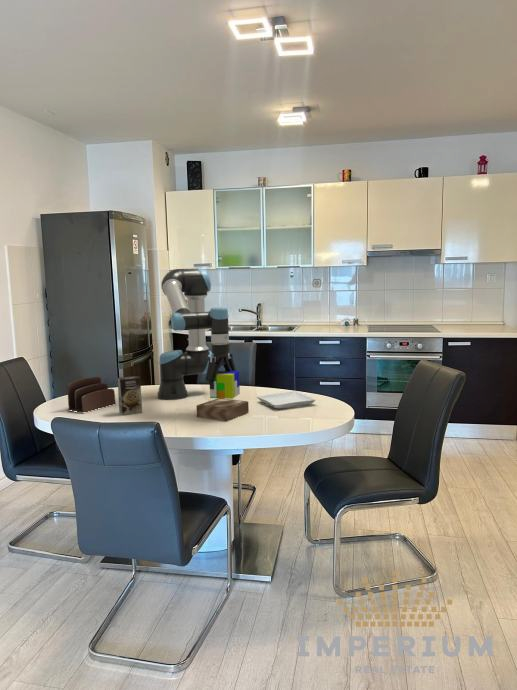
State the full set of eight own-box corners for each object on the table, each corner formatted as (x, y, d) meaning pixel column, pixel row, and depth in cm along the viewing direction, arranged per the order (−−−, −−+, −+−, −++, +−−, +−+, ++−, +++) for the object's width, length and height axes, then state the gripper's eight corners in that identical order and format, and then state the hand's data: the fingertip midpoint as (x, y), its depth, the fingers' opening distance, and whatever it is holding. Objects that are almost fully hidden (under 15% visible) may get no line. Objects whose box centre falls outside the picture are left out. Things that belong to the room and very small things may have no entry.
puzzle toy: (239, 393, 223) (238, 371, 222) (232, 398, 213) (231, 375, 212) (218, 393, 226) (217, 370, 224) (210, 398, 216) (209, 374, 215)
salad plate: (275, 412, 224) (274, 404, 224) (256, 402, 244) (255, 395, 243) (317, 406, 233) (316, 399, 232) (295, 397, 252) (295, 390, 252)
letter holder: (68, 411, 236) (66, 381, 234) (101, 402, 253) (99, 374, 251) (83, 414, 231) (80, 383, 229) (115, 404, 247) (114, 376, 246)
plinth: (196, 416, 219) (196, 405, 218) (219, 408, 232) (219, 397, 231) (226, 421, 210) (226, 409, 209) (248, 412, 223) (248, 401, 222)
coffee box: (122, 415, 225) (119, 379, 223) (119, 412, 230) (116, 377, 228) (142, 412, 229) (140, 377, 227) (139, 409, 234) (137, 375, 233)
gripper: (209, 347, 205) (211, 400, 208) (243, 341, 225) (245, 389, 227) (195, 346, 209) (197, 398, 212) (229, 340, 229) (231, 388, 232)
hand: (222, 393), depth 220 cm, fingers closed on puzzle toy, 11 cm apart
